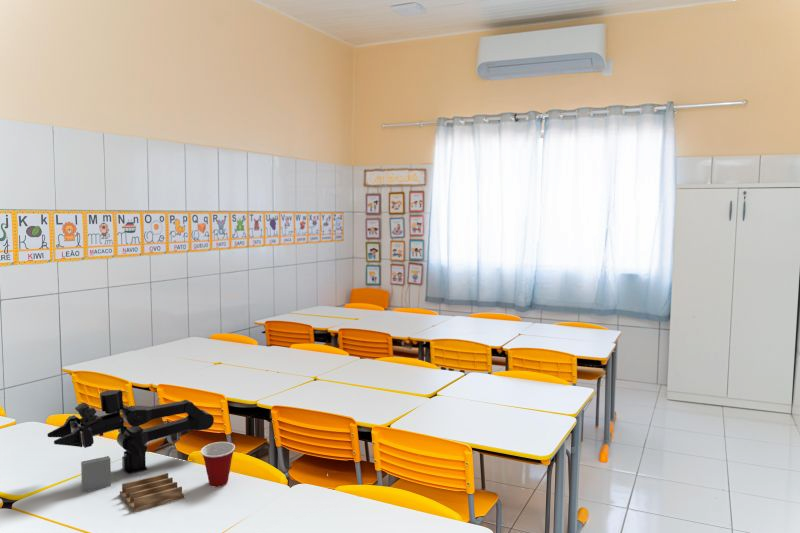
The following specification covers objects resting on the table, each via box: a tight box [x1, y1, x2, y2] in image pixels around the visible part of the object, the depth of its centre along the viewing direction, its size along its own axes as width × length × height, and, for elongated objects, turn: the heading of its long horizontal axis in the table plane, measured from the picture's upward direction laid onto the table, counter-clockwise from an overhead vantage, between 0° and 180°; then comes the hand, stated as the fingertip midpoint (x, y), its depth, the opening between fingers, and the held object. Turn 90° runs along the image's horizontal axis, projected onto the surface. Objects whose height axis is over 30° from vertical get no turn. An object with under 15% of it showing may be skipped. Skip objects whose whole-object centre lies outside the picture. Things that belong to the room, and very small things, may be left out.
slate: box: [80, 455, 112, 493], centre depth 198 cm, size 8×2×9 cm, turn 129°
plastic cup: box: [200, 441, 236, 488], centre depth 203 cm, size 11×11×12 cm
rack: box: [119, 472, 185, 513], centre depth 193 cm, size 15×14×4 cm
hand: (50, 438), depth 196 cm, fingers open, 9 cm apart
